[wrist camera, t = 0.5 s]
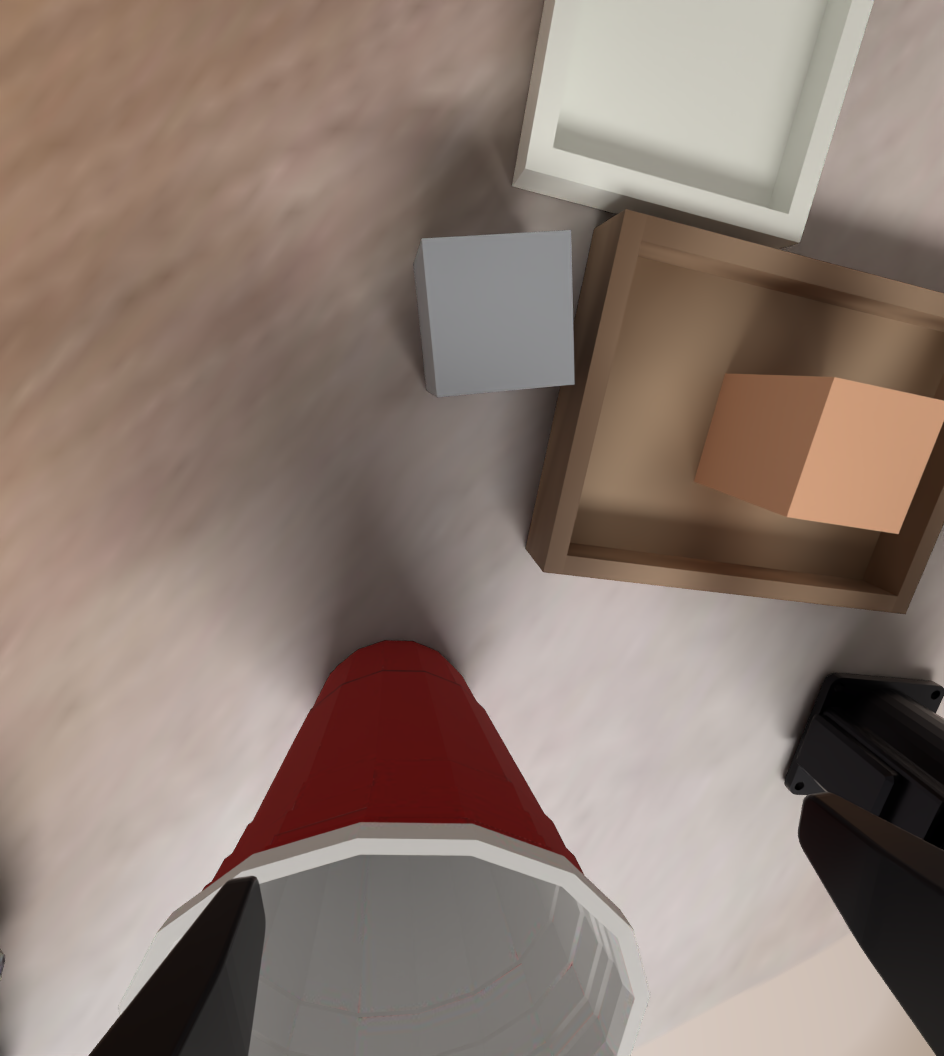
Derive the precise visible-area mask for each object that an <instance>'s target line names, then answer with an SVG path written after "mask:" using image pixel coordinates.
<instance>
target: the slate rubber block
mask: <svg viewBox="0 0 944 1056" xmlns="http://www.w3.org/2000/svg"><path fill="white" fill-rule="evenodd" d="M413 266H414V275H415V285H416V295H417V304H418V314H419V324H420V333H421V343H422V353H423V362H424V372H425V382H426V390H427V391H428V392H430V393H431V394H433V395H434V396H436V397H447V396H457V395H468V394H479V393H489V392H500V391H510V390H521V389H532V388H542V387H553V386H564V385H574V384H575V381H574V337H573V292H572V247H571V230H562V231H544V232H527V233H509V234H492V235H475V236H457V237H440V238H422V239H421V242H420V245H419V248H418V251H417V254H416V258H415V261H414V264H413Z"/></svg>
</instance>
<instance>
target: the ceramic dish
mask: <svg viewBox="0 0 944 1056" xmlns="http://www.w3.org/2000/svg"><path fill="white" fill-rule="evenodd" d="M873 3H874V0H545V1H544V6H543V12H542V18H541V24H540V29H539V35H538V41H537V46H536V52H535V58H534V63H533V69H532V75H531V80H530V86H529V92H528V97H527V103H526V109H525V115H524V120H523V126H522V132H521V137H520V143H519V149H518V154H517V160H516V166H515V171H514V177H513V183H512V186H513V187H516V188H520V189H524V190H528V191H532V192H535V193H539V194H543V195H547V196H551V197H555V198H558V199H562V200H566V201H570V202H574V203H577V204H581V205H585V206H589V207H593V208H596V209H600V210H604V211H608V212H612V213H615V214H619V213H620V212H622V211H623V210H625V209H628V210H632V211H636V212H639V213H643V214H647V215H651V216H654V217H658V218H662V219H666V220H670V221H673V222H677V223H681V224H685V225H688V226H692V227H696V228H700V229H703V230H707V231H711V232H715V233H718V234H722V235H726V236H730V237H734V238H737V239H741V240H745V241H749V242H752V243H756V244H760V245H764V246H767V247H771V248H775V249H780V248H784V247H787V246H791V245H794V244H798V243H800V241H801V237H802V234H803V231H804V228H805V224H806V221H807V218H808V215H809V211H810V208H811V205H812V202H813V198H814V195H815V192H816V189H817V185H818V182H819V179H820V175H821V172H822V169H823V166H824V162H825V159H826V156H827V153H828V149H829V146H830V143H831V140H832V136H833V133H834V130H835V127H836V123H837V120H838V117H839V114H840V110H841V107H842V104H843V101H844V97H845V94H846V91H847V87H848V84H849V81H850V78H851V74H852V71H853V68H854V65H855V61H856V58H857V55H858V52H859V48H860V45H861V42H862V39H863V35H864V32H865V29H866V26H867V22H868V19H869V16H870V13H871V9H872V6H873Z"/></svg>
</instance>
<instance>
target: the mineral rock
mask: <svg viewBox="0 0 944 1056" xmlns="http://www.w3.org/2000/svg"><path fill="white" fill-rule="evenodd" d="M4 963H5V955H4V954H3V952H2V951H1V949H0V981H1V976H2V970H3V967H4Z"/></svg>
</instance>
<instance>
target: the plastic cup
mask: <svg viewBox="0 0 944 1056" xmlns="http://www.w3.org/2000/svg"><path fill="white" fill-rule="evenodd" d="M246 876H255V877H257V879H258V881H259V885H260V890H261V895H262V901H263V906H264V911H265V918H266V929H265V938H264V946H263V953H262V960H261V967H260V975H259V982H258V989H257V997H256V1004H255V1011H254V1019H253V1026H252V1033H251V1040H250V1047H249V1053H248V1056H631V1053H632V1050H633V1047H634V1044H635V1041H636V1038H637V1035H638V1032H639V1029H640V1025H641V1022H642V1019H643V1016H644V1013H645V1010H646V1007H647V1004H648V1001H649V998H650V991H649V987H648V983H647V979H646V976H645V972H644V968H643V964H642V960H641V956H640V953H639V949H638V945H637V941H636V937H635V934H634V930H633V928H632V927H631V925H630V924H629V922H628V921H627V919H626V918H625V916H624V915H623V913H622V912H621V910H620V909H619V908H618V907H617V906H616V905H615V904H614V903H613V902H612V901H611V900H610V899H608V898H607V897H606V896H605V895H604V894H603V893H602V892H601V891H600V890H599V889H598V888H597V887H596V886H595V885H594V884H593V883H592V882H591V881H590V880H589V879H587V878H586V877H585V876H584V874H583V872H582V870H581V868H580V866H579V864H578V862H577V860H576V858H575V856H574V855H573V854H572V853H571V852H570V851H569V850H568V849H567V848H566V847H565V845H564V843H563V841H562V839H561V837H560V835H559V833H558V831H557V829H556V827H555V825H554V823H553V822H552V821H551V820H550V819H549V818H548V817H547V816H546V815H545V814H544V812H543V810H542V809H541V807H540V805H539V803H538V802H537V800H536V798H535V797H534V795H533V793H532V791H531V790H530V788H529V786H528V784H527V783H526V781H525V779H524V777H523V776H522V774H521V772H520V770H519V769H518V767H517V765H516V763H515V762H514V760H513V758H512V756H511V755H510V753H509V751H508V749H507V748H506V746H505V744H504V742H503V741H502V739H501V737H500V735H499V734H498V732H497V730H496V728H495V727H494V725H493V723H492V721H491V720H490V718H489V716H488V714H487V713H486V711H485V709H484V708H483V707H482V706H481V705H480V704H479V703H478V702H477V701H476V699H475V698H474V696H473V694H472V692H471V691H470V689H469V687H468V685H467V684H466V682H465V680H464V678H463V677H462V675H461V674H460V673H459V672H458V671H457V670H456V669H455V668H454V667H453V666H452V665H451V664H450V663H449V662H448V661H447V660H446V659H445V658H444V657H443V656H442V655H441V654H440V653H439V652H438V651H436V650H434V649H431V648H429V647H426V646H424V645H421V644H419V643H416V642H414V641H388V640H385V641H382V642H379V643H376V644H373V645H370V646H367V647H364V648H361V649H358V650H357V651H355V652H354V653H353V654H352V655H350V656H349V657H348V658H347V659H345V660H344V661H343V662H342V663H341V664H339V665H338V666H337V667H336V668H335V670H334V671H333V672H332V673H330V675H329V677H328V679H327V681H326V683H325V685H324V686H323V688H322V690H321V692H320V694H319V696H318V698H317V700H316V702H315V704H314V706H313V708H312V709H311V710H310V712H309V713H308V715H307V717H306V719H305V721H304V723H303V725H302V727H301V728H300V730H299V732H298V734H297V736H296V738H295V740H294V742H293V744H292V746H291V747H290V749H289V751H288V753H287V755H286V757H285V759H284V761H283V763H282V765H281V767H280V769H279V771H278V773H277V775H276V777H275V779H274V780H273V782H272V784H271V786H270V788H269V790H268V792H267V794H266V796H265V798H264V800H263V802H262V804H261V806H260V808H259V810H258V812H257V814H256V815H255V817H254V819H253V821H252V822H251V823H250V824H248V826H247V827H246V829H245V831H244V833H243V835H242V836H241V838H240V840H239V842H238V844H237V846H236V847H235V849H234V851H233V853H232V854H231V855H229V856H228V857H227V858H225V859H224V861H223V863H222V864H221V866H220V868H219V870H218V871H217V873H216V875H215V877H214V878H213V880H212V882H210V883H209V884H208V885H206V886H205V887H204V888H203V890H202V892H200V893H199V894H198V895H196V896H195V897H193V898H192V899H191V900H189V901H188V902H187V903H185V904H184V905H182V906H181V907H180V908H178V909H177V910H176V911H174V912H173V913H172V914H171V915H170V917H169V918H168V919H167V921H166V922H165V923H164V924H163V926H162V927H161V928H160V929H159V931H158V932H157V933H156V935H155V937H154V939H153V941H152V943H151V945H150V947H149V949H148V951H147V952H146V954H145V956H144V958H143V960H142V962H141V964H140V966H139V968H138V970H137V972H136V973H135V975H134V977H133V979H132V981H131V983H130V985H129V987H128V989H127V991H126V993H125V994H124V996H123V998H122V1000H121V1002H120V1004H119V1014H120V1015H121V1014H122V1013H123V1011H124V1010H125V1009H126V1007H127V1006H128V1005H129V1004H130V1002H131V1001H132V1000H133V999H134V997H135V996H136V995H137V994H138V992H139V991H140V990H141V988H142V987H143V986H144V985H145V983H146V982H147V981H148V980H149V978H150V977H151V976H152V975H153V973H154V972H155V971H156V969H157V968H158V967H159V966H160V964H161V963H162V962H163V961H164V959H165V958H166V957H167V956H168V954H169V953H170V952H171V950H172V949H173V948H174V947H175V945H176V944H177V943H178V942H179V940H180V939H181V938H182V937H183V935H184V934H185V933H186V931H187V930H188V929H189V928H190V926H191V925H192V924H193V923H194V921H195V920H196V919H197V918H198V916H199V915H200V914H201V912H202V911H203V910H204V909H205V907H206V906H207V905H208V904H209V902H210V901H211V900H212V899H213V897H214V896H215V895H216V893H217V892H218V891H219V890H220V888H221V887H222V886H223V885H224V884H225V883H226V882H227V881H228V880H230V879H233V878H239V877H246Z"/></svg>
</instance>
